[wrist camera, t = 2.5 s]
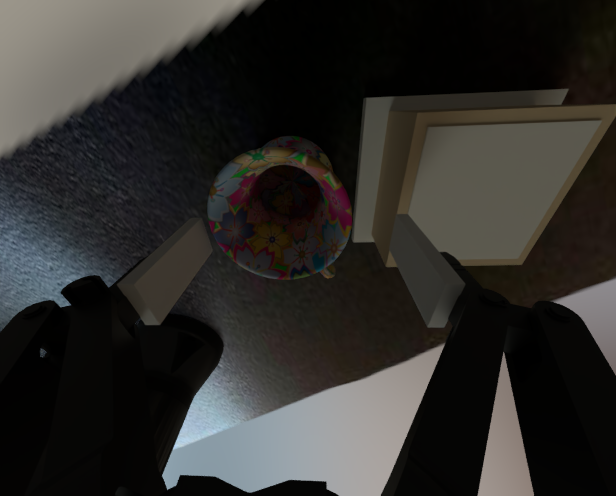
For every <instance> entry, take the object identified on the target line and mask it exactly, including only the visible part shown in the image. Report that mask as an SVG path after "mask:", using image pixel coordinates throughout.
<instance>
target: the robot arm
mask: <svg viewBox="0 0 616 496" xmlns="http://www.w3.org/2000/svg"><path fill="white" fill-rule="evenodd" d="M389 250H390V252H391V254H392V256H393V258H394V260H395V262H396V264H397V266H398V268H399V270H400V273H401V275H402V277H403V279H404V281H405V283H406V285H407V287H408V289H409V291H410V293H411V295H412V297H413V299H414V301H415V303H416V305H417V307H418V309H419V311H420V313H421V315H422V317H423V319H424V321H425V323H426V325H427V327H445V325H446V323H447V321H448V319H449V321H450V322H451V324H452V325H453V327H452V329H451V331H450V333H449V335H448V337H447V339H446V343H445V346H444V348H443V350H442V353H441V355H440V358H439V360H438V362H437V365H436V367H435V370H434V372H433V375H432V377H431V379H430V382H429V384H428V386H427V389H426V391H425V393H424V396H423V399H422V401H421V404H420V405H419V408H418V410H417V413H416V415H415V417H414V420H413V423H412V425H411V427H410V429H409V432H408V434H407V437H406V439H405V441H404V444H403V446H402V449H401V451H400V453H399V456H398V458H397V461H396V463H395V465H394V468H393V470H392V473H391V475H390V477H389V479H388V482H387V484H386V486H385V488H384V490H383V492H382V494H381V496H477V495H478V489H479V484H480V479H481V473H482V467H483V462H484V456H485V451H486V445H487V440H488V434H489V429H490V423H491V417H492V412H493V406H494V401H495V395H496V390H497V383H498V378H499V372H500V367H501V362H502V356H503V352H504V353H505V358H506V363H507V368H508V372H509V377H510V382H511V387H512V392H513V396H514V400H515V406H516V411H517V415H518V420H519V425H520V429H521V434H522V439H523V444H524V449H525V453H526V458H527V463H528V468H529V473H530V477H531V482H532V487H533V492H534V496H616V375H615V374H614V372H613V370H612V368H611V367H610V365H609V363H608V362H607V360H606V359H605V357H604V355H603V353H602V352H601V350H600V348H599V347H598V345H597V343H596V342H595V340H594V338H593V337H592V335H591V333H590V331H589V330H588V328H587V326H586V325H585V323H584V321H583V320H582V319H581V318H580V317H579V316H578V315H577V314H576V313H575V312H573V311H572V310H570V309H569V308H567V307H565V306H563V305H560V304H557V303H554V302H550V301H538V302H536V303H535V304H534V305H533V307H532V308H527V307H523V306H518V305H513V304H510V303H509V301H508V300H507V299H506V298H505V297H503V296H502V295H500V294H499V293H496V292H494V291H492V290H488V289H483V288H482V287H481V286H480V284H479V283H478V282H477V281H476V280H475V279H474V278H473V277H472V276H471V274H470V273H469V272H468V271H466V269H465V268H464V267H463V266H462V265H461V263H460V262H459V261H458V260H457V259H456V258H455V257H454V256H452V255H451V254H449V253H447V252H439V251H438V250H437V249H436V247H435V246H434V245H433V244H432V243H431V241H430V240H429V239H428V238H427V237H426V235H425V234H424V233H423V232H422V230H421V229H420V228H419V227H418V226H417V224H416V223H415V222H414V221H413V220H412V218H411V217H410V216H409V215H408V214H396V217H395V222H394V227H393V232H392V236H391V241H390V246H389ZM212 251H213V249H212V246H211V243H210V240H209V237H208V234H207V231H206V228H205V225H204V223H203V220H202V218H190V219H189V220H188V221H187V222H186V223H185V224H184V225H183V226H181V227H180V228H179V229H178V230H177V231H176V232H175V233H174V234H173V235H171V236H170V237H169V238H168V239H167V240H166V241H165V242H164V243H163V244H161V245H160V246H159V247H158V248H157V249H156V250H155V251H154V252H153V253H151V254H150V255H149V256H147V257H145V258H143V259H142V260H140V261H139V262H138V263H137V264H135V265H134V266H133V268H131V269H130V270H129V271H128V273H125V274H124V275H123V276H122V277H121V278H120V279H118V280H117V281H116V282H115V283H114V284H113V285H112V286H110V287H109V288H108V287H107V285H106V284H105V283H104V281H103V280H102V279H101V277H100V276H97V275H92V276H87V277H83V278H80V279H78V280H75V281H73V282H72V283H70V284H68V285H67V286H66V287H64V288H63V289H62V291H61V292H60V293H61V294H62V295H63V296H64V297H65V298H66V299H67V300H68V302H69V303H70V304H71V305H70V306H65V307H60V306H59V305H58V304H57V303H56V302H55V301H52V300H48V301H42V302H39V303H35V304H33V305H31V306H28V307H26V308H25V309H24V310H22V311H21V312H19V313H18V314H17V315H15V316H14V317H13V318H12V320H11V321H10V322H9V323H8V324H7V325H6V326H5V328H4V329H3V330H2V331H1V332H0V496H338V495H337V494H336V493H333V492H331V491H329V490H327V489H326V482H324V481H323V482H322V481H301V480H288V481H285V482H282V483H279V484H276V485H273V486H270V487H267V488H264V489H261V490H259V491H255V492H252V493H248V492H245V491H243V490H241V489H239V488H237V487H235V486H233V485H231V484H229V483H227V482H225V481H223V480H221V479H219V478H217V477H211V476H189V475H180V477H179V480H178V483H177V485H176V486H175V487H173V488H171V489H168V490H167V488H166V485H165V482H164V479H163V477H162V474H163V472H164V469H165V467H166V464H167V462H168V459H169V457H170V454H171V452H172V450H173V447H174V445H175V442H176V440H177V437H178V435H179V432H180V430H181V427H182V425H183V423H184V420H185V418H186V415H187V412H188V410H189V408H190V405H191V403H192V401H193V398H194V396H195V395H196V393H197V392H198V391H199V389H200V388H201V387H202V385H203V384H204V383H205V381H206V380H207V379H208V377H209V376H210V375H211V373H212V372H213V370H214V369H215V368H216V367H217V365H218V363H219V361H220V358H221V356H222V353H223V343H222V341H221V339H220V337H219V336H218V335H217V334H216V333H215V332H214V331H213V330H212V329H211V328H209V327H208V326H206V325H204V324H203V323H201V322H198V321H196V320H194V319H191V318H188V317H184V316H180V315H174V314H168V313H169V312H170V310H171V309H172V308H173V306H174V305H175V303H176V302H177V301H178V299H179V298H180V296H181V295H182V294H183V292H184V291H185V289H186V288H187V287H188V285H189V284H190V282H191V281H192V280H193V278H194V277H195V275H196V274H197V273H198V271H199V270H200V268H201V267H202V265H203V264H204V263H205V261H206V260H207V258H208V257H209V256H210V254H211V253H212ZM139 318H141V319H142V320H141V321H140V322H139V323H138V324H137V325H136V324H135V322H136V321H137V320H138V319H139ZM41 348H42V349H44V350H45V351H46V354H45V356H44V357H43V358H42V357H40V349H41Z"/></svg>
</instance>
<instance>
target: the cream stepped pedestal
mask: <svg viewBox="0 0 616 496" xmlns="http://www.w3.org/2000/svg"><path fill="white" fill-rule="evenodd" d="M567 91H568V89H555V90H532V91H509V92H487V93H464V94H442V95H419V96H396V97H374V98H364V99H363V111H362V123H361V134H360V146H359V158H358V169H357V181H356V193H355V204H354V216H353V227H352V240H353V242H375V244H376V246H377V248H378V250H379V252H380V255H381V257H382V259H383V261H384V263H385V266H386V267H398V266H397V264H396V262H395V260H394V258H393V256H392V254H391V252H390V250H389V246H390V241H391V236H392V232H393V227H394V222H395V217H396V214H408V215H409V216H410V217H411V218H412V220H413V221H414V222H415V223H416V224H417V226H418V227H419V228H420V229H421V230H422V232H423V233H424V234H425V235H426V237H427V238H428V239H429V240H430V241H431V243H432V244H433V245H434V246H435V247H436V249H437V250H438V251H439V252H447V253H449V254H451V255H452V256H454V257H455V258H456V259H457V260H458V261H459V262H460V263H461V265H462V266H473V265H522V263H523V262H524V260H525V258H526V257H527V255H528V254H529V252H530V250H531V249H532V247H533V246H534V244H535V243H536V241H537V239H538V238H539V236H540V235H541V233H542V232H543V230H544V228H545V227H546V225H547V224H548V222H549V221H550V219H551V217H552V216H553V214H554V213H555V211H556V209H557V208H558V206H559V205H560V203H561V202H562V200H563V198H564V197H565V195H566V194H567V192H568V191H569V189H570V187H571V186H572V184H573V183H574V181H575V179H576V178H577V176H578V175H579V173H580V172H581V170H582V168H583V167H584V165H585V164H586V162H587V161H588V159H589V157H590V156H591V154H592V153H593V151H594V149H595V148H596V146H597V145H598V143H599V142H600V140H601V138H602V137H603V135H604V134H605V132H606V131H607V129H608V127H609V126H610V124H611V123H612V121H613V120H614V118H615V116H616V104H590V105H561V103H562V101H563V99H564V97H565V95H566V93H567Z"/></svg>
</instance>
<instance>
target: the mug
mask: <svg viewBox="0 0 616 496" xmlns="http://www.w3.org/2000/svg"><path fill="white" fill-rule="evenodd" d="M207 212H208V220H209V225H210V228H211V231H212V233H213V235H214V237H215V239H216V241H217V243H218V244H219V246H220V247H221V248H222V250H223V251H224V252H225V253H226V254H227V255H228V256H229V257H230V258H231V259H232V260H233V261H234V262H236V263H237V264H238V265H240V266H241V267H243V268H245V269H247V270H248V271H250V272H253V273H255V274H258V275H260V276H264V277H268V278H273V279H297V278H303V277H307V276H310V275H312V274H315V273H317V272H319V271H320V273H321V274H322V275H323V276H324V277H326V278H331V277H333V276H335V266H334V263H333V261H334V260H335V259H336V258H337V257H338V256H339V255H340V253H341V252H342V251H343V249H344V247H345V245H346V243H347V241H348V239H349V236H350V232H351V227H352V210H351V205H350V201H349V198H348V195H347V193H346V190H345V188H344V186H343V185H342V183H341V182H340V180H339V179H338V178H337V176H336V175H335V174H334V173H333V169H332V166H331V163H330V161H329V159H328V157H327V156H326V154H325V153H324V152H323V151H322V149H321V148H320V147H318V146H317V145H316V144H314V143H313V142H311V141H309V140H307V139H305V138H302V137H297V136H283V137H279V138H276V139H273V140H271V141H269V142H268V143H267V144H265V145H264V146H263V147H262V148H259V149H255V150H251V151H248V152H246V153H243V154H242V155H240V156H238V157H236V158H235V159H233V160H232V161H230V162H229V163H228V164H227V165H226V166H225V167H224V168H223V169H222V170H221V171H220V172H219V174H218V175H217V177H216V178H215V180H214V182H213V184H212V186H211V189H210V192H209V196H208V204H207Z"/></svg>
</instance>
